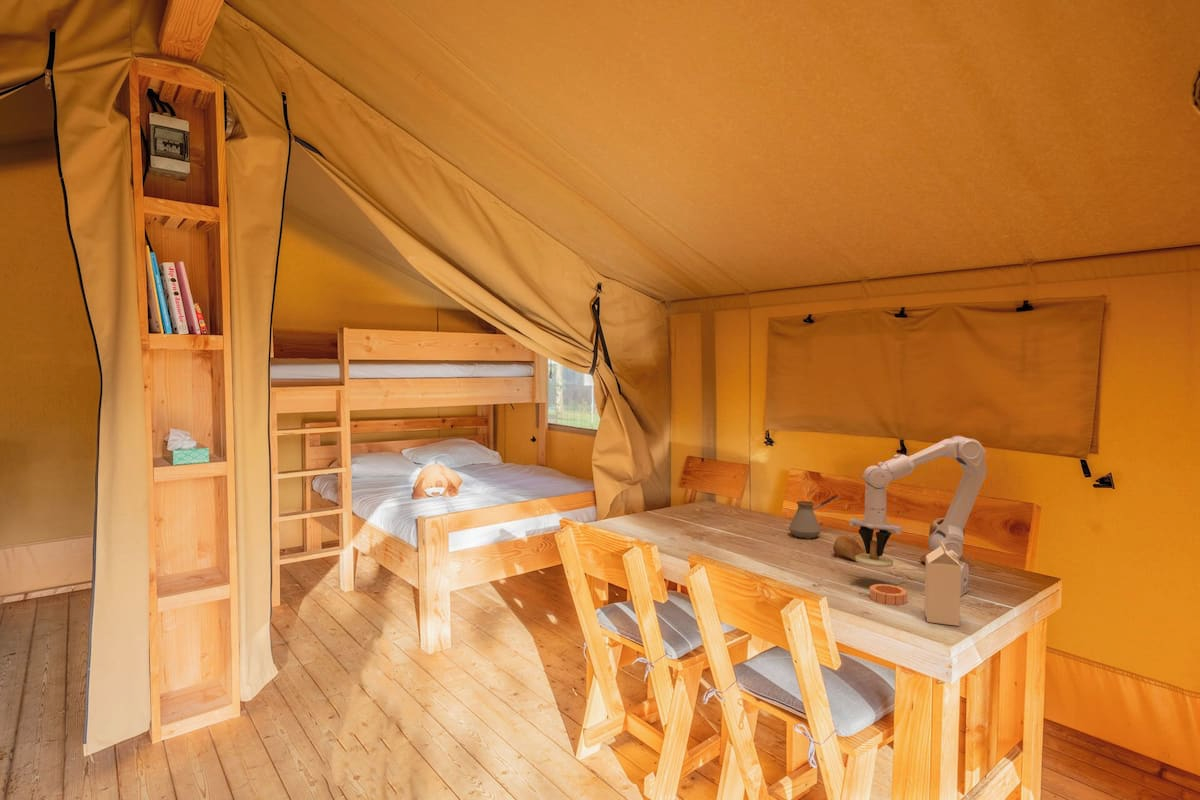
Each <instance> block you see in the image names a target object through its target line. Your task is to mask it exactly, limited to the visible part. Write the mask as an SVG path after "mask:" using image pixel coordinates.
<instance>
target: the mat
mask: <svg viewBox="0 0 1200 800" xmlns="http://www.w3.org/2000/svg"><path fill="white" fill-rule="evenodd" d="M875 584H888V585H894V586H899V584H897V583H894V582H889V581H885V580H880V579H877V578H876V579H875V578H871V577H867V576H863V577H861V578H859V579H857V580H855V581H853V582H850V583H849V585H850V586H851V585H852V586H854V587H858V588H859V587H860V588H862V589H867V590H870V586H872V585H875Z"/></svg>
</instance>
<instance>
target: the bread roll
mask: <svg viewBox="0 0 1200 800" xmlns="http://www.w3.org/2000/svg"><path fill="white" fill-rule="evenodd" d="M832 549H833V552H834V554H835V555H837V556H841V557H843V558H845V559H846V558H847V559H849V560H852V561H855V562H857V561H856V555H858V554H866V549H865V545H864V542H863V540H862V537H861V536H859V535H856V534H842V535H838V537H836V539H835V541H834V544H833V546H832Z"/></svg>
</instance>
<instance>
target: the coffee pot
mask: <svg viewBox="0 0 1200 800" xmlns="http://www.w3.org/2000/svg"><path fill="white" fill-rule="evenodd" d="M838 497H839V498H841V496H840V495H838V494H835V495H833V496H831V497H829V498H827V499H826V500H824V501H822V502H820V503H818V505H816V506H814V505H815V503H814V502H813V501H807V500H799V501H796V502H795V503H796V504H797V510H796V511H795V513H794V516H793V517H792V521H791V522H790V524H789V527H788V530H789V532H790V533H791V534H792V535H793V536H794V537H795V536H796V537H795V538H797V537H799V539H802V538H805V540H810V539H811V538H813V539H815V538H816V537H817V536H818V535H819V534H821V531H822V529H821V527H820V524H819V521H818V520H817V517H816V515H815V512H814V511H815V510H817V509H818V508H820V507H822V506H824V505H826V504H828V503H830V502H832V500H835V498H836V499H837V500H839V498H838ZM813 506H814V507H813Z"/></svg>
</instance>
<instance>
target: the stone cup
mask: <svg viewBox="0 0 1200 800" xmlns="http://www.w3.org/2000/svg"><path fill="white" fill-rule="evenodd" d="M944 519H945V517H939V518H936V519H934V520H933V521H932V522H931V523H930V526H929V533H928V534H929V535H928V536H929V537H930V535H931V534H933V533H934V532H935V531H936V529H937V527H938V526H939V525H940V524H941V523H943V521H944ZM965 529H966V528H965V526H964V529H963V535H964V537H965V535H966V530H965ZM929 537H928V538H929ZM928 554H929V553H928ZM928 554H923V555H921V556H919V560H920V561H921V562H923V563H925V564H926V555H928ZM965 555H966V554H963V553H962V556H961V557H960V558H959V560H960V561H961V562H964V563H967V564H968V563H970V559H969V558H968V557H967V556H965Z"/></svg>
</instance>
